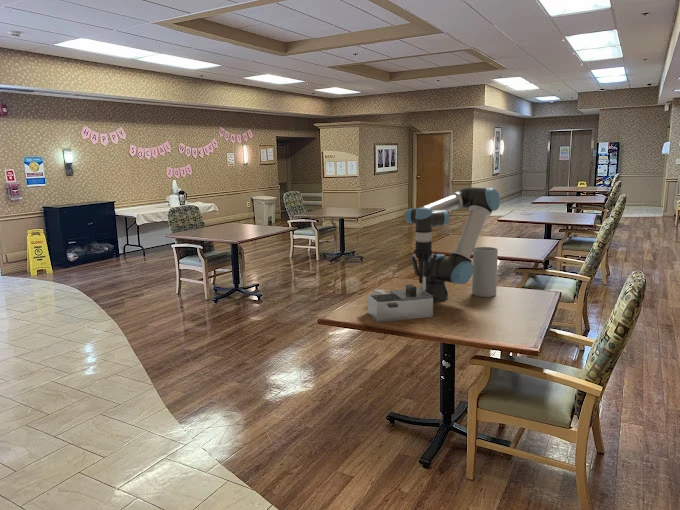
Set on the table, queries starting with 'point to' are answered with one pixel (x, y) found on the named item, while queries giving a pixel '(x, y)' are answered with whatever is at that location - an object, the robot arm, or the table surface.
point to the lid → (411, 293)
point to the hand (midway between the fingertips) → (423, 289)
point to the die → (378, 292)
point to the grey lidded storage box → (397, 308)
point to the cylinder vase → (484, 271)
